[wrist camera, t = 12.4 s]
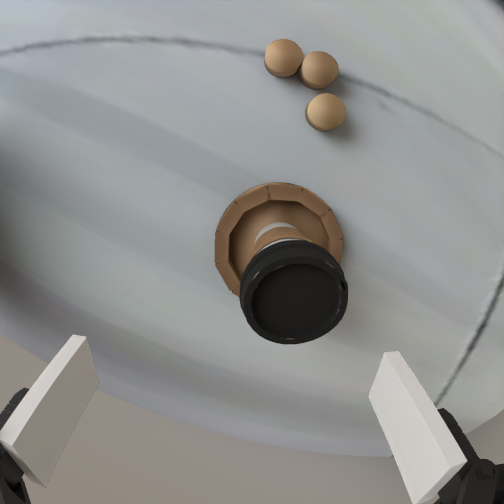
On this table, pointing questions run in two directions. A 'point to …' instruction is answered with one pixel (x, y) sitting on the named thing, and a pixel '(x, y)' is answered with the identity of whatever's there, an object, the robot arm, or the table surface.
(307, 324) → the coffee cup
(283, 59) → the bead
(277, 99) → the table surface
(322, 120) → the bead
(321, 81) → the bead
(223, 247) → the round tray
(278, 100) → the table surface
